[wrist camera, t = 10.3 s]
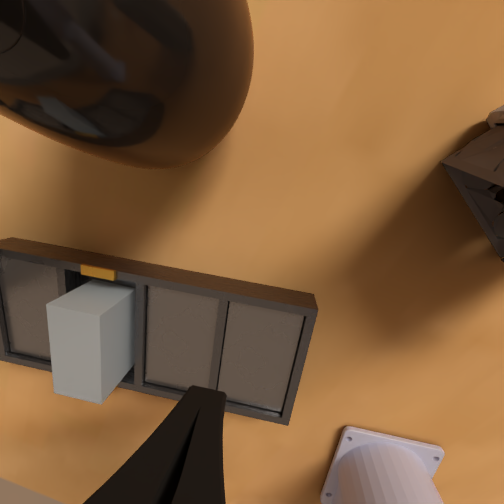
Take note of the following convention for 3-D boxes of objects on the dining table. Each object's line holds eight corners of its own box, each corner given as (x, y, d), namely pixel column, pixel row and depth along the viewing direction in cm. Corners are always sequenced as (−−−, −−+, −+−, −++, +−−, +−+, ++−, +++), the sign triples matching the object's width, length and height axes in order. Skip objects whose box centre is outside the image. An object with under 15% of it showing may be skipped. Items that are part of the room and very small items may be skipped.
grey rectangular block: (134, 363, 21) (101, 404, 17) (95, 354, 21) (54, 392, 17) (136, 288, 19) (99, 315, 15) (93, 279, 19) (46, 304, 15)
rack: (287, 400, 21) (288, 428, 19) (27, 343, 23) (-3, 362, 20) (314, 293, 18) (318, 310, 16) (12, 236, 20) (-25, 244, 17)
